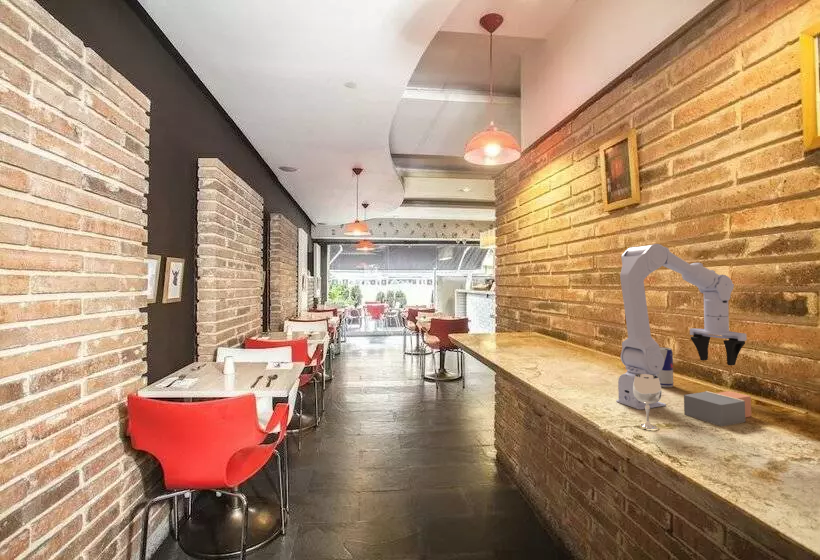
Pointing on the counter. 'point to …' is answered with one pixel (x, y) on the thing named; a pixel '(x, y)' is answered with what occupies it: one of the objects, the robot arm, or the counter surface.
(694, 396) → the block
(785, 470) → the counter surface
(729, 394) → the salmon pink cube
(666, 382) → the energy drink
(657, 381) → the wineglass
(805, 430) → the counter surface
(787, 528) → the counter surface
